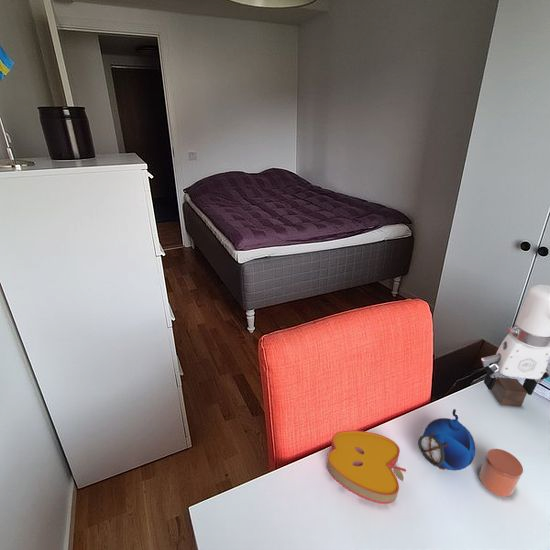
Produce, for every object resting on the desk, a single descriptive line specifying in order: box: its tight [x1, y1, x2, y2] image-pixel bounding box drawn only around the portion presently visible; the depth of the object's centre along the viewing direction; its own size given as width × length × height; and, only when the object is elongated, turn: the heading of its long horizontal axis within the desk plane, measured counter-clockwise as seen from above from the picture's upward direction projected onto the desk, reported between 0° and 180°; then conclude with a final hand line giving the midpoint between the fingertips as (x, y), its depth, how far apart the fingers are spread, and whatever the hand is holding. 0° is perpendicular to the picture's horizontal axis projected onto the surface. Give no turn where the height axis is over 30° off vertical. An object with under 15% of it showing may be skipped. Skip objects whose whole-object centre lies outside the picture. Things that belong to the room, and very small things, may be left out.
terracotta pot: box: [478, 448, 524, 498], centre depth 68 cm, size 6×6×6 cm
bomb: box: [417, 408, 477, 471], centre depth 70 cm, size 10×11×15 cm
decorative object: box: [326, 429, 407, 505], centre depth 70 cm, size 14×4×15 cm
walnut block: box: [491, 376, 528, 408], centre depth 90 cm, size 5×5×5 cm
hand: (507, 388), depth 90 cm, fingers open, 9 cm apart
